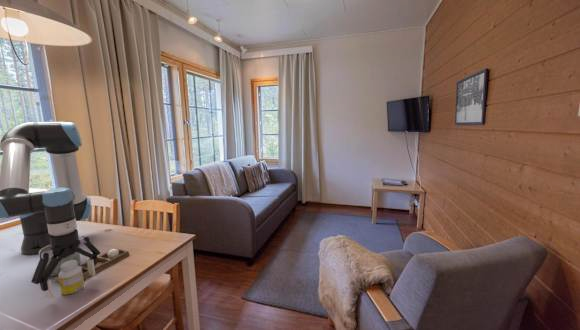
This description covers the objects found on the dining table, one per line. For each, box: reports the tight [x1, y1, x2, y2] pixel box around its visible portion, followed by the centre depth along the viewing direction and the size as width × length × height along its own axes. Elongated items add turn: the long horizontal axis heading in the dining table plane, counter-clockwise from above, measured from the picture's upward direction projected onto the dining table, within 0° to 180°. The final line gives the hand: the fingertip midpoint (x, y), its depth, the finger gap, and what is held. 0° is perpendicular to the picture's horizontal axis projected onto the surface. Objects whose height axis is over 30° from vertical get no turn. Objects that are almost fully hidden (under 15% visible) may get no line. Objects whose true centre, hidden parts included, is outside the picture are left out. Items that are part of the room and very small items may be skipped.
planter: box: [38, 244, 81, 277], centre depth 104 cm, size 12×12×11 cm
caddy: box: [54, 247, 130, 285], centre depth 106 cm, size 9×24×2 cm, turn 161°
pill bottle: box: [58, 260, 85, 297], centre depth 91 cm, size 6×6×12 cm
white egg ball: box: [106, 248, 119, 259], centre depth 113 cm, size 4×4×4 cm
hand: (72, 285), depth 91 cm, fingers open, 13 cm apart
